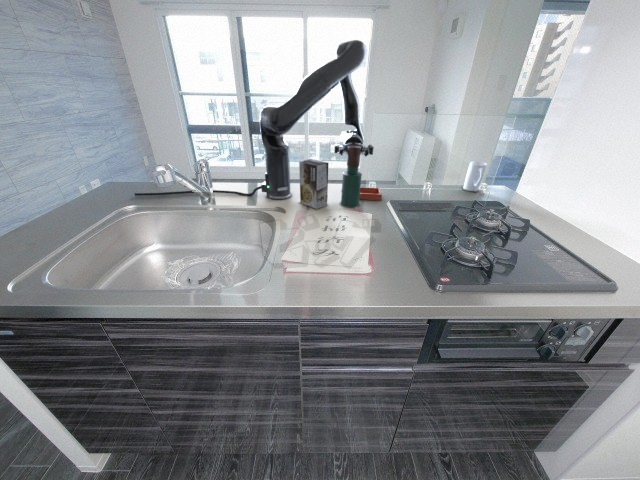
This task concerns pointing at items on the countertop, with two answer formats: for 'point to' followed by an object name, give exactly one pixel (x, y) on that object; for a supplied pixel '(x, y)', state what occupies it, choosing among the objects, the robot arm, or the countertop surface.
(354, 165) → the stopper
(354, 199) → the flask
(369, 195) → the tray
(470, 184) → the mug
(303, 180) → the coffee box
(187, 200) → the countertop surface
